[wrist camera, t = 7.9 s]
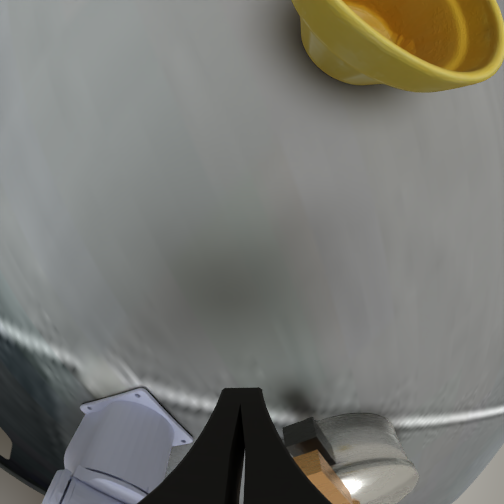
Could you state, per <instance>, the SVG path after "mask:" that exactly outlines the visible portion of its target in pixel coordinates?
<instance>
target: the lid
mask: <svg viewBox="0 0 504 504" xmlns="http://www.w3.org/2000/svg"><path fill="white" fill-rule="evenodd" d="M293 459H294V460H295V462H296V463H297V465H298V466H299V467H300V469H301V470H302V471H303V473H304V474H305V475H306V476H307V477H308V479H309V480H310V481H311V482H312V483H313V484H314V485H315V487H316V488H317V489H318V490H319V491H320V492H321V493H322V494H323V495H324V496H325V497H326V498H327V499H328V500H329V501H330V502H331V503H332V504H396V503H397V502H398V501H400V500H401V499H403V498H404V497H405V496H406V495H407V494H408V493H409V492H411V491H412V489H413V488H414V487H415V485H416V484H417V482H418V479H419V476H418V473H417V471H416V468H415V466H414V464H413V463H412V462H411V461H409V460H406V459H400V458H386V459H377V460H371V461H366V462H361V463H356V464H352V465H348V466H344V467H341V468H337V469H334V470H333V469H332V468H331V467H330V465H329V464H328V463H327V462H326V460H325V459H324V458H323V456H322V455H321V454H320V452H319V451H318V450H315V451H312V452H309V453H306V454H303V455H299V456H296V457H293Z"/></svg>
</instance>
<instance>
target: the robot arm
mask: <svg viewBox="0 0 504 504" xmlns="http://www.w3.org/2000/svg"><path fill="white" fill-rule="evenodd" d="M138 394H139V395H138ZM80 409H81V410H82V411H83V412H84V413H85V416H84V418H83V419H82V421H81V423H80V425H79V427H78V429H77V430H76V432H75V434H74V436H73V438H72V440H71V442H70V443H69V445H68V447H67V449H66V452H65V455H64V465H65V469H64V470H58V471H57V472H56V474H55V476H54V478H53V480H52V482H51V484H50V487H49V489H48V491H47V493H46V495H45V497H44V499H43V502H42V504H239V496H240V486H241V478H242V469H243V461H244V452H245V483H244V504H332V503H331V502H330V501H329V500H328V499H327V498H326V497H325V496H324V495H323V494H322V493H321V492H320V491H319V490H318V489H317V488H316V487H315V485H314V484H313V483H312V482H311V481H310V480H309V479H308V477H307V476H306V475H305V474H304V473H303V471H302V470H301V469H300V467H299V466H298V465H297V463H296V462H295V460H294V459H293V458H292V456H291V455H290V453H289V451H288V450H287V448H286V447H285V445H284V443H283V442H282V440H281V438H280V436H279V434H278V432H277V430H276V428H275V426H274V424H273V422H272V420H271V418H270V415H269V413H268V410H267V408H266V405H265V401H264V398H263V393H262V389H260V388H259V387H258V388H224V389H223V390H222V392H221V395H220V397H219V400H218V402H217V405H216V407H215V409H214V411H213V413H212V415H211V417H210V419H209V420H208V422H207V424H206V426H205V427H204V429H203V431H202V433H201V434H200V436H199V437H198V439H197V440H196V442H195V443H194V445H193V446H192V448H191V449H190V450H189V452H188V453H187V454H186V456H185V457H184V458H183V460H182V461H181V462H180V463H179V464H178V466H177V467H176V468H175V469H174V470H173V471H172V472H171V473H170V474H169V475H168V476H167V477H166V478H165V473H166V469H167V465H168V461H169V456H170V452H171V448H172V447H173V446H178V445H183V444H188V443H192V442H193V437H192V436H191V435H190V434H188V433H187V432H186V431H185V430H184V429H183V428H182V427H181V426H180V425H179V424H178V423H177V422H176V421H175V420H174V419H173V418H172V417H171V416H170V415H169V414H168V413H167V412H166V411H165V410H164V409H163V407H162V406H161V405H160V404H159V403H158V402H157V401H156V400H155V399H154V398H153V397H152V396H151V394H150V393H149V392H148V391H147V390H146V389H144V388H138V389H135V390H132V391H128V392H125V393H122V394H118V395H115V396H111V397H108V398H104V399H101V400H97V401H93V402H89V403H85V404H82V405H81V406H80ZM164 478H165V480H164Z"/></svg>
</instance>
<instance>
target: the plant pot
mask: <svg viewBox="0 0 504 504" xmlns="http://www.w3.org/2000/svg"><path fill="white" fill-rule="evenodd" d="M292 3H293V5H294V7H295V9H296V10H297V12H298V14H299V16H300V22H301V39H302V43H303V46H304V48H305V50H306V52H307V54H308V55H309V57H310V58H311V60H312V61H313V62H314V63H315V65H316V66H317V67H318V68H320V69H321V70H322V71H323V72H325V73H326V74H328V75H329V76H331V77H333V78H335V79H337V80H339V81H342V82H345V83H348V84H353V85H373V84H385V85H388V86H391V87H394V88H398V89H401V90H406V91H412V92H437V91H444V90H449V89H455V88H459V87H464V86H468V85H472V84H476V83H479V82H483V81H485V80H487V79H488V78H490V77H491V76H493V75H494V74H495V73H496V72H497V71H498V69H499V68H500V66H501V64H502V62H503V60H504V21H503V17H502V14H501V11H500V9H499V6H498V4H497V2H496V0H292Z"/></svg>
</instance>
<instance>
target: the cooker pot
mask: <svg viewBox="0 0 504 504" xmlns="http://www.w3.org/2000/svg"><path fill="white" fill-rule="evenodd" d="M283 435H284V439H283V440H282V442H283V443H284V445H285V447H286V448H287V450H288V451H289V453H290V455H291V456H292V458H293V457H296V456H299V455H303V454H306V453H309V452H312V451H315V450H318V451H319V452H320V454H321V455H322V456H323V458H324V459H325V460H326V462H327V463H328V464H329V465H330V467H331V468H332V469H333V470H334V469H337V468H341V467H344V466H348V465H352V464H356V463H361V462H366V461H371V460H377V459H386V458H400V459H406V460H408V458H407V456H406V454H405V452H404V449H403V447H402V445H401V443H400V441H399V438H398V436H397V434H396V432H395V430H394V428H393V426H392V424H391V422H390V421H389V420H387V419H386V418H384V417H382V416H379V415H375V414H368V413H355V414H346V415H340V416H335V417H331V418H327V419H323V420H320V421H317V422H315V420H314V419H313V417H311V418H309V419H306V420H303V421H300V422H298V423H295V424H292V425H289V426H286V427H283Z"/></svg>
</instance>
